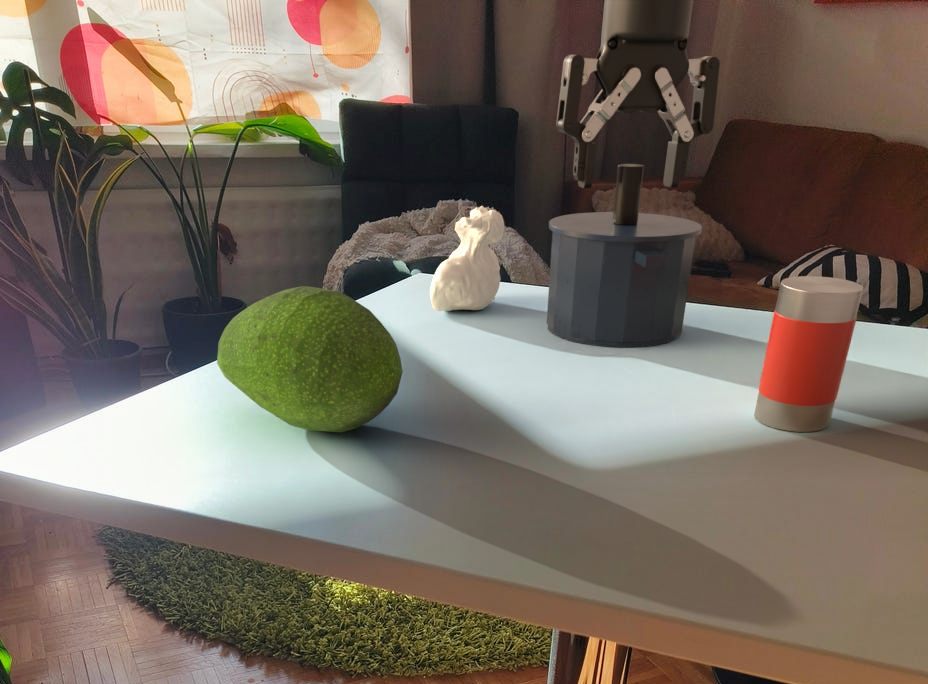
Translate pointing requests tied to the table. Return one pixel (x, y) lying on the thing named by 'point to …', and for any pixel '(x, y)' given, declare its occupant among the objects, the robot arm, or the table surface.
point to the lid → (626, 217)
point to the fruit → (312, 359)
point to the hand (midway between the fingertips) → (628, 186)
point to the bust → (470, 265)
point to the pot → (618, 291)
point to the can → (807, 352)
